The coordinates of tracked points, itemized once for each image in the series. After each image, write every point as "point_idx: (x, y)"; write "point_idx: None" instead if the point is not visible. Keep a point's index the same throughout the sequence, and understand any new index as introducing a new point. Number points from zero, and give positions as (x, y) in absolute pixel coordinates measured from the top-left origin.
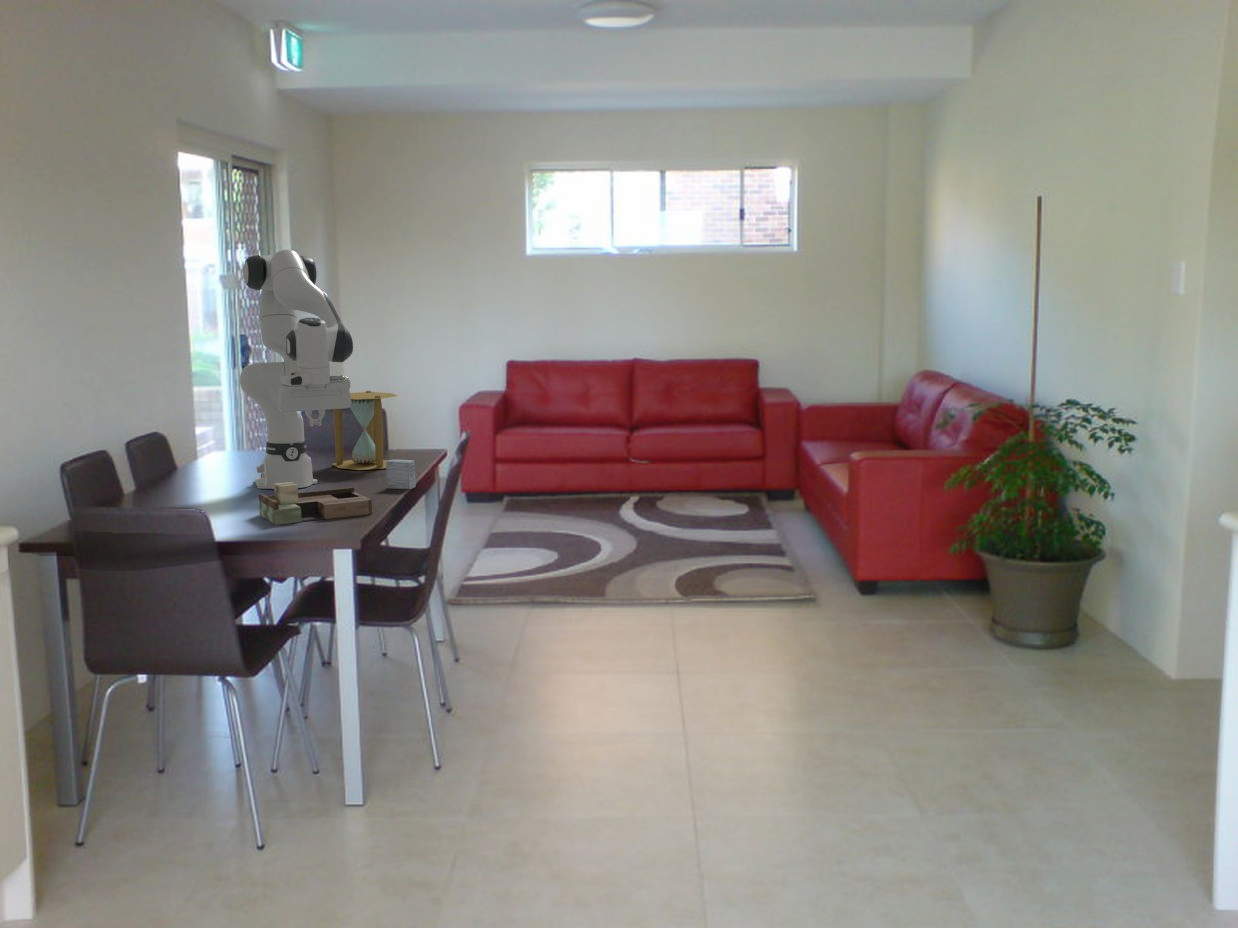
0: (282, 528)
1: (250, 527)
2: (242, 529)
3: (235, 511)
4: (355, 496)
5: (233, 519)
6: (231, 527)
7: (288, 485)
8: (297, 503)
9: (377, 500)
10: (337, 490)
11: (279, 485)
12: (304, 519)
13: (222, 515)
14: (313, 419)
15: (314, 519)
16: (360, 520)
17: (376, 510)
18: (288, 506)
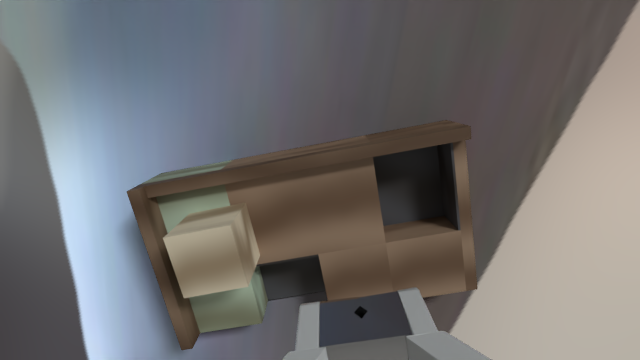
0: (219, 350)
1: (144, 315)
2: (126, 329)
3: (85, 90)
4: (452, 188)
5: (92, 207)
6: (97, 300)
7: (215, 291)
8: (256, 266)
9: (539, 70)
10: (406, 149)
11: (183, 280)
12: (276, 293)
13: (53, 140)
14: (350, 354)
15: (301, 294)
16: None
17: (485, 226)
18: (228, 300)
